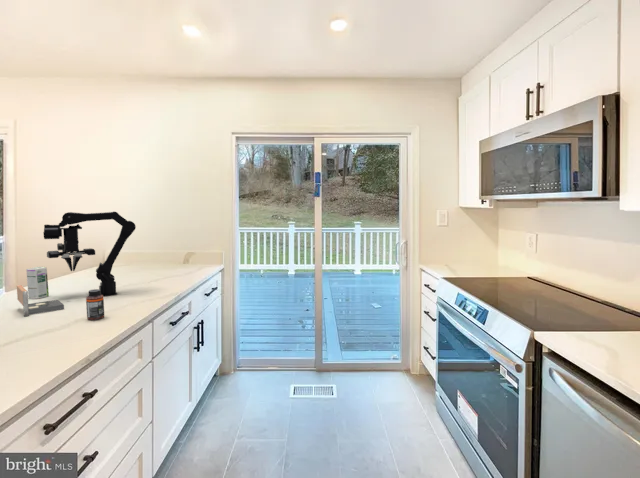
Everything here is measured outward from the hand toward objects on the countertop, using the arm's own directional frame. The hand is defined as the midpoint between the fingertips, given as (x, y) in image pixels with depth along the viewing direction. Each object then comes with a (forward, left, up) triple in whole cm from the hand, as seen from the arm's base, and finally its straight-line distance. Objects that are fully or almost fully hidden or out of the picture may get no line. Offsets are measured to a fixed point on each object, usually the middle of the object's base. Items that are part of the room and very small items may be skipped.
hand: (72, 270), depth 179 cm
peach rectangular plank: (+21, +14, -9) cm, 27 cm away
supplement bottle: (+2, +44, -13) cm, 46 cm away
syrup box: (+12, -12, -13) cm, 21 cm away
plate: (+15, +16, -13) cm, 25 cm away
